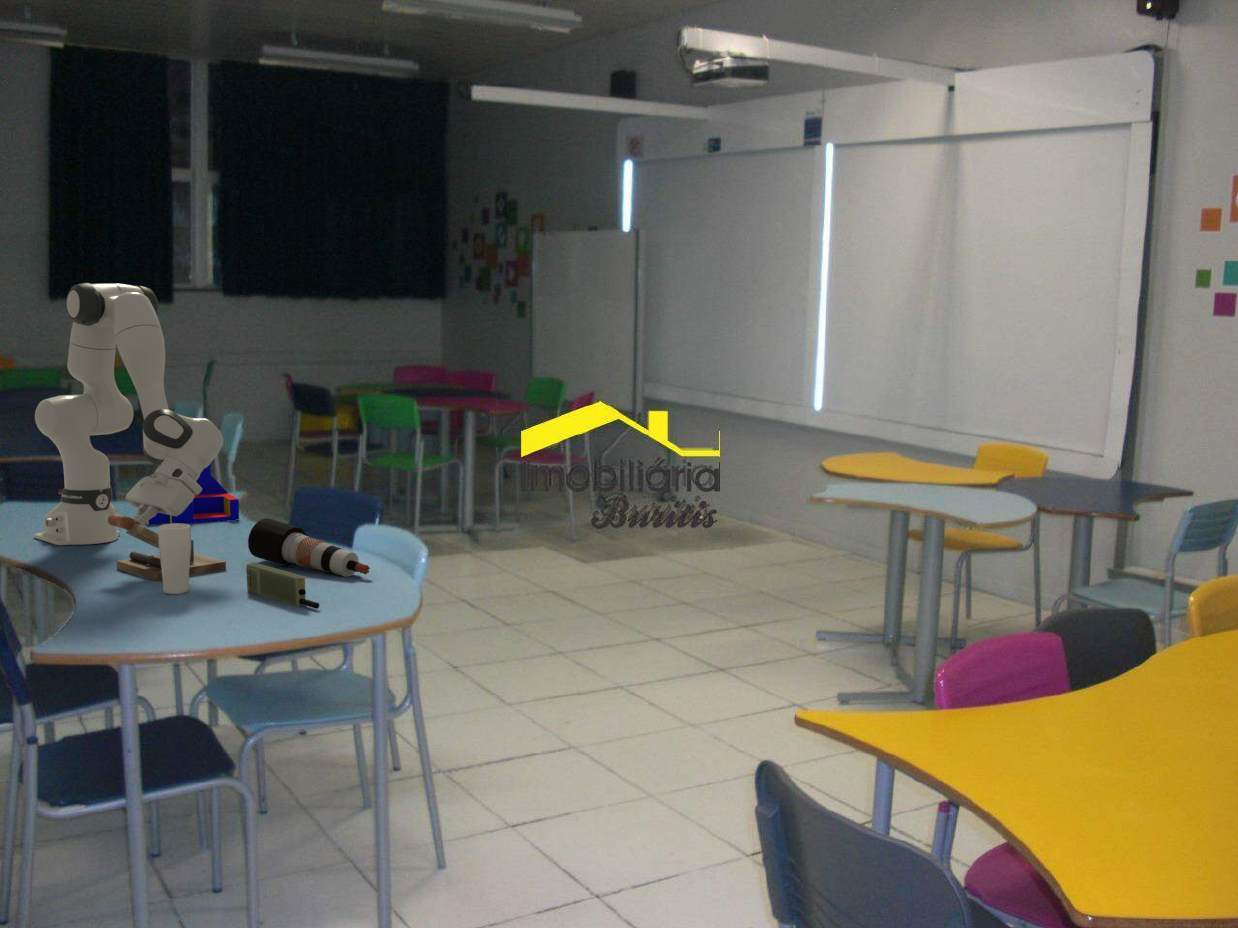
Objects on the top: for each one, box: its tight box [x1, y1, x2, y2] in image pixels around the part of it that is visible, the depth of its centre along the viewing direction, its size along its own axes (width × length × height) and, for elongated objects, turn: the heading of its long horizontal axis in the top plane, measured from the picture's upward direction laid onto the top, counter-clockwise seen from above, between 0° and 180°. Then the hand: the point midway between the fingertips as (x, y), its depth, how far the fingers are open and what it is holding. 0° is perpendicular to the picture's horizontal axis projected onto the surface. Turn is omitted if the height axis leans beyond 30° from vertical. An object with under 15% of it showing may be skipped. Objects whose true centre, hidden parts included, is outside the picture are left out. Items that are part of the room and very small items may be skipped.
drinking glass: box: [158, 523, 192, 595], centre depth 267 cm, size 7×7×15 cm
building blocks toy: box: [145, 462, 240, 526], centre depth 357 cm, size 19×25×18 cm
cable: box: [247, 517, 371, 578], centre depth 293 cm, size 10×34×10 cm, turn 60°
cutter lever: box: [108, 513, 159, 550], centre depth 285 cm, size 3×7×20 cm
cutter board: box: [116, 539, 227, 582], centre depth 290 cm, size 18×18×7 cm
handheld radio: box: [245, 561, 320, 610], centre depth 263 cm, size 7×3×25 cm
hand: (137, 523), depth 282 cm, fingers closed, pressing on cutter lever
